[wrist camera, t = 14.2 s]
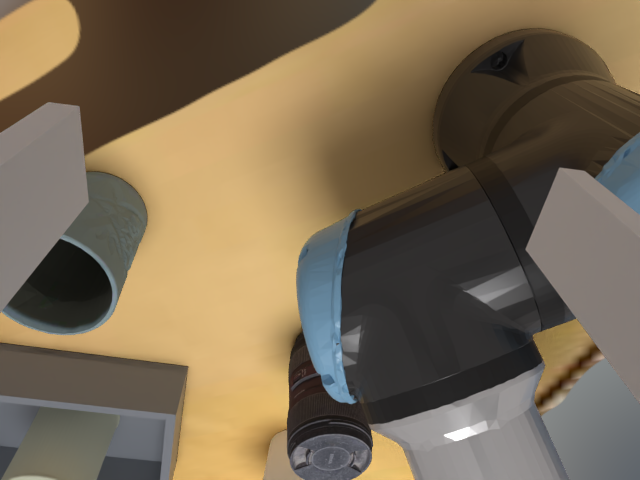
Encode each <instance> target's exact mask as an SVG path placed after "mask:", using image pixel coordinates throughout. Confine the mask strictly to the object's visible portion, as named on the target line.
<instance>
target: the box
mask: <svg viewBox="0 0 640 480" xmlns="http://www.w3.org/2000/svg"><path fill="white" fill-rule="evenodd" d="M187 372H188V367H187V366H179V365H172V364H164V363H156V362H148V361H140V360H132V359H124V358H116V357H108V356H100V355H92V354H84V353H76V352H69V351H61V350H53V349H45V348H37V347H29V346H21V345H13V344H5V343H0V480H1V479H2V477H3V475H4V473H5V472H6V470H7V468H8V466H9V464H10V463H11V461H12V459H13V457H14V456H15V454H16V452H17V450H18V448H19V446H20V445H21V443H22V441H23V439H24V437H25V435H26V433H27V432H28V430H29V428H30V426H31V424H32V422H33V420H34V418H35V417H36V415H37V413H38V411H39V409H40V406H42V407H51V408H60V409H69V410H79V411H88V412H97V413H106V414H115V415H120V421H119V424H118V426H117V428H116V429H115V432H114V434H113V437H112V439H111V442H110V445H109V447H108V450H107V453H106V455H105V458H104V461H103V463H102V466H101V469H100V472H99V475H98V477H97V480H172V479H173V475H174V471H175V466H176V462H177V454H178V446H179V438H180V429H181V421H182V413H183V405H184V397H185V388H186V380H187Z"/></svg>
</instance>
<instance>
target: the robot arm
mask: <svg viewBox="0 0 640 480" xmlns="http://www.w3.org/2000/svg"><path fill="white" fill-rule="evenodd" d="M433 141H434V146H435V150H436V153H437V156H438V158H439V160H440V162H441V164H442V166H443V167H444V169H445V170H446V172H447V173H445V174H442V175H440V176H438V177H436V178H434V179H431V180H429V181H427V182H425V183H422V184H420V185H418V186H416V187H413V188H411V189H409V190H407V191H404V192H402V193H400V194H398V195H395V196H393V197H391V198H389V199H386V200H384V201H382V202H380V203H377V204H375V205H373V206H371V207H368V208H366V209H364V210H361V209H357V210H354V211H353V212H351V213H350V214H349V216H348V217H346V218H344V219H342V220H340V221H338V222H336V223H335V224H333V225H331V226H329V227H327V228H325V229H323V230H321V231H319V232H317V233H315V234H314V235H313V236H311V237H310V238H309V239H308V241H307V242H306V243H305V244H304V246H303V248H302V250H301V253H300V256H299V261H298V268H297V275H296V287H297V300H298V308H299V314H300V320H301V325H302V329H303V333H304V337H305V341H306V344H307V348H308V351H309V354H310V357H311V360H312V363H313V365H314V368H315V370H316V372H317V373H318V374H320V375H321V379H322V383H323V386H324V388H325V389H326V391H327V392H328V394H329V395H330V396H331V397H332V398H333V399H335V400H337V401H338V402H341V403H349V404H353V403H356V402H358V401H360V403H361V406H362V408H363V411H364V414H365V416H366V419H367V422H368V425H369V427H370V429H371V430H373V431H375V432H377V433H379V434H381V435H383V436H385V437H387V438H389V439H391V440H393V441H395V442H397V443H398V444H399V445H400V446H401V447H402V448H403V450H404V453H405V455H406V458H407V461H408V463H409V466H410V468H411V471H412V474H413V476H414V479H415V480H570V479H569V477H568V475H567V473H566V470H565V468H564V466H563V464H562V462H561V459H560V457H559V455H558V453H557V451H556V448H555V446H554V444H553V442H552V440H551V438H550V435H549V433H548V431H547V429H546V427H545V425H544V423H543V420H542V418H541V416H540V413H539V411H538V409H537V407H536V405H535V403H534V396H535V391H536V388H537V386H538V383H539V381H540V378H541V375H542V373H543V370H544V368H545V363H544V361H543V359H542V357H541V355H540V353H539V351H538V349H537V346H536V344H535V342H534V340H533V334H536V333H538V332H541V331H543V330H546V329H549V328H552V327H554V326H557V325H560V324H563V323H566V322H568V321H571V320H574V319H577V320H578V321H579V322H580V324H581V325H582V326H583V328H584V329H585V331H586V332H587V333H588V335H589V336H590V337H591V339H592V340H593V341H594V343H595V344H596V345H597V347H598V348H599V349H600V351H601V352H602V354H603V355H604V356H605V358H606V359H607V360H608V362H609V363H610V364H611V366H612V367H613V368H614V370H615V371H616V372H617V374H618V375H619V377H620V378H621V379H622V381H623V382H624V383H625V385H626V386H627V387H628V389H629V390H630V391H631V393H632V394H633V395H634V397H635V398H636V400H637V401H638V402H639V404H640V94H637V93H635V92H633V91H630V90H628V89H625V88H623V87H621V86H618V85H617V84H616V83H615V81H614V79H613V77H612V75H611V74H610V72H609V70H608V68H607V66H606V64H605V63H604V61H603V60H602V59H601V57H600V56H599V55H598V54H597V53H596V52H595V51H594V50H593V49H592V48H590V47H589V46H588V45H586V44H585V43H583V42H582V41H580V40H578V39H576V38H573V37H571V36H568V35H565V34H563V33H560V32H557V31H553V30H547V29H524V30H518V31H514V32H510V33H507V34H504V35H501V36H499V37H497V38H494V39H492V40H491V41H489V42H487V43H485V44H484V45H482V46H480V47H479V48H478V49H476V50H475V51H474V52H472V53H471V54H470V55H469V56H468V57H467V58H466V59H464V60H463V61H462V63H461V64H460V65H459V66H458V67H457V68H456V69H455V71H454V72H453V73H452V75H451V76H450V77H449V79H448V81H447V82H446V84H445V86H444V87H443V89H442V92H441V94H440V96H439V99H438V101H437V104H436V108H435V112H434V117H433ZM88 202H89V199H88V189H87V179H86V168H85V158H84V149H83V139H82V128H81V118H80V107H79V106H72V105H65V104H58V103H50V102H48V103H46V104H45V105H43V106H42V107H40V108H39V109H37V110H35V111H34V112H33V113H31V114H29V115H28V116H26V117H25V118H23V119H22V120H20V121H19V122H17V123H16V124H14V125H12V126H11V127H9V128H8V129H6V130H5V131H3V132H1V133H0V313H1V311H2V310H3V309H4V308H5V306H6V305H7V304H8V303H9V301H10V300H11V299H12V298H13V296H14V295H15V294H16V293H17V291H18V290H19V289H20V288H21V286H22V285H23V284H24V283H25V281H26V280H27V279H28V278H29V276H30V275H31V274H32V273H33V271H34V270H35V269H36V268H37V266H38V265H39V264H40V263H41V261H42V260H43V259H44V258H45V256H46V255H47V254H48V253H49V251H50V250H51V249H52V248H53V246H54V245H55V244H56V243H57V241H58V240H59V239H60V238H61V236H62V235H63V234H64V233H65V231H66V230H67V229H68V227H69V226H70V225H71V224H72V222H73V221H74V220H75V219H76V217H77V216H78V215H79V214H80V212H81V211H82V210H83V209H84V207H85V206H86V205H87V204H88Z"/></svg>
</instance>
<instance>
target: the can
mask: <svg viewBox="0 0 640 480" xmlns="http://www.w3.org/2000/svg"><path fill="white" fill-rule="evenodd" d="M119 421H120V415H115V414H106V413H97V412H88V411H79V410H69V409H60V408H51V407H42V406H40V409H39V411H38V413H37V415H36V417H35V418H34V420H33V422H32V424H31V426H30V428H29V430H28V432H27V433H26V435H25V437H24V439H23V441H22V443H21V445H20V446H19V448H18V450H17V452H16V454H15V456H14V457H13V459H12V461H11V463H10V464H9V466H8V468H7V470H6V472H5V473H4V475H3V477H2V479H1V480H97V477H98V475H99V472H100V469H101V466H102V463H103V461H104V458H105V455H106V453H107V450H108V447H109V445H110V442H111V439H112V437H113V434H114V432H115V429H116V428H117V426H118V424H119Z"/></svg>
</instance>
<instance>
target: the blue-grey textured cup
mask: <svg viewBox="0 0 640 480" xmlns="http://www.w3.org/2000/svg"><path fill="white" fill-rule="evenodd" d="M86 179H87V189H88V199H89V202H88V204H87V205H86V206H85V207H84V209H83V210H82V211H81V212H80V214H79V215H78V216H77V217H76V219H75V220H74V221H73V222H72V224H71V225H70V226H69V227H68V229H67V230H66V231H65V233H64V234H63V235H62V236H61V238H60V239H59V240H58V241H57V243H56V244H55V245H54V246H53V248H52V249H51V250H50V251H49V253H48V254H47V255H46V256H45V258H44V259H43V260H42V261H41V263H40V264H39V265H38V266H37V268H36V269H35V270H34V271H33V273H32V274H31V275H30V276H29V278H28V279H27V280H26V281H25V283H24V284H23V285H22V286H21V288H20V289H19V290H18V291H17V293H16V294H15V295H14V296H13V298H12V299H11V300H10V301H9V303H8V304H7V305H6V306H5V308H4V309H3V310H2V311H1V312H2V313H3V314H5V315H6V316H7V317H9V318H10V319H12V320H14V321H16V322H17V323H19V324H21V325H23V326H26V327H28V328H31V329H34V330H38V331H41V332H45V333H48V334H57V335H75V334H81V333H85V332H88V331H91V330H93V329H95V328H98V327H99V326H101V325H102V324H104V323H105V322H106V321H107V320H108V319H109V318H110V317H111V315H112V314H113V312H114V310H115V307H116V305H117V302H118V299H119V296H120V294H121V291H122V288H123V285H124V283H125V280H126V278H127V271H128V270H129V269H130V267H131V264H132V262H133V260H134V256H135V254H136V251H137V248H138V245H139V243H140V242H141V240H142V237H143V235H144V232H145V229H146V226H147V212H146V207H145V204H144V202H143V200H142V198H141V197H140V195H139V194H138V193H137V192H136V191H135V189H134V188H133V187H132V186H130V185H129V184H128V183H126V182H125V181H123V180H122V179H120V178H118V177H116V176H113V175H110V174H106V173H101V172H86Z"/></svg>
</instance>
